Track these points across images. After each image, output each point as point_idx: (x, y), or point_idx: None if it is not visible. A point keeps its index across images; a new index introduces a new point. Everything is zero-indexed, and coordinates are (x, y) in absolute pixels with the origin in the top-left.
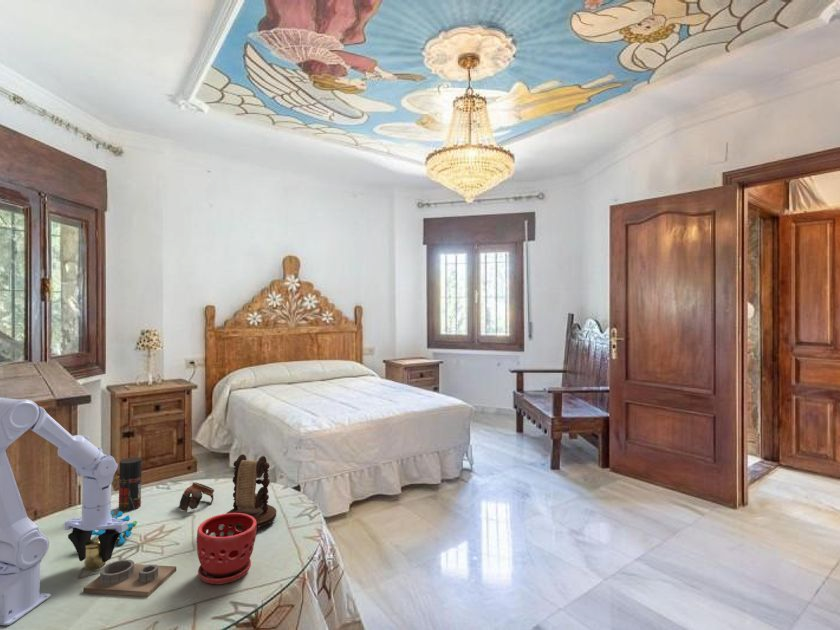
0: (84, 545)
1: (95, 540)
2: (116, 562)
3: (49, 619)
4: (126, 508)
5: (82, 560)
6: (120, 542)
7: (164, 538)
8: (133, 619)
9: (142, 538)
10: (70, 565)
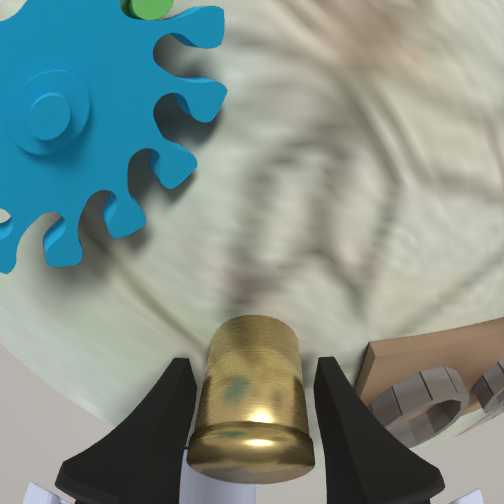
0: (173, 438)
1: (234, 463)
2: (407, 415)
3: (322, 471)
4: None
5: (196, 386)
6: (207, 120)
7: (446, 22)
8: (465, 430)
9: (301, 4)
10: (134, 347)
